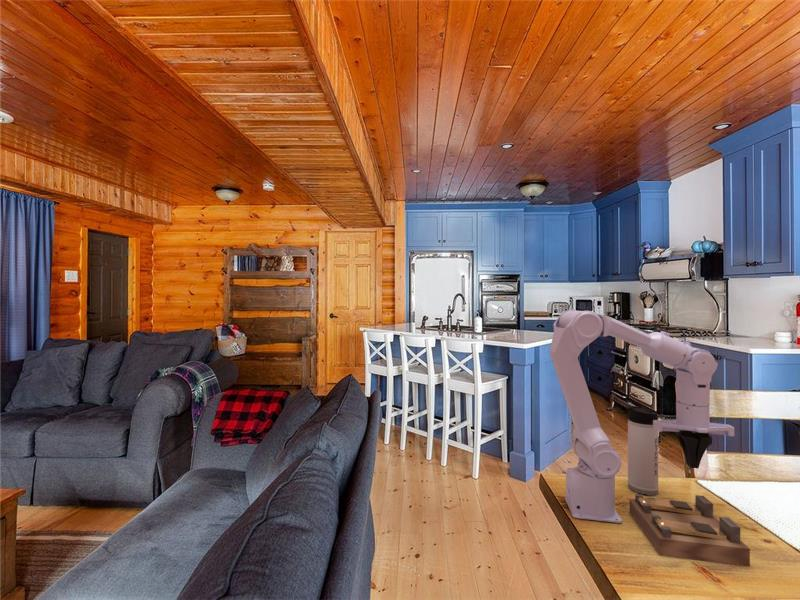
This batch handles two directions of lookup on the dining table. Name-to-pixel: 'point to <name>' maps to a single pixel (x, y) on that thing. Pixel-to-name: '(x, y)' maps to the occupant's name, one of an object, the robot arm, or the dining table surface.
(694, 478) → the dining table surface
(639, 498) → the far strap
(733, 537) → the brown strap fixture board
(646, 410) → the travel mug
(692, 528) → the near strap
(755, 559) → the dining table surface
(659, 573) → the dining table surface
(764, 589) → the dining table surface
